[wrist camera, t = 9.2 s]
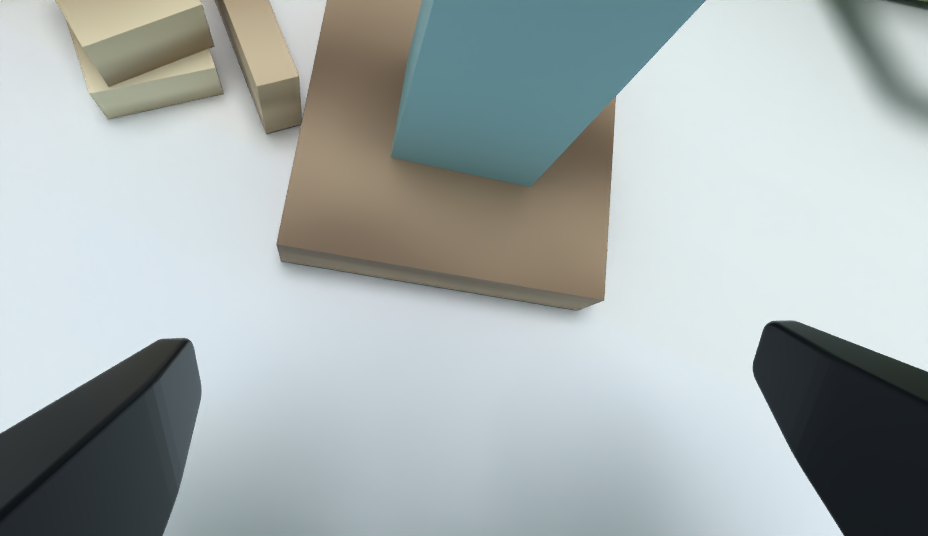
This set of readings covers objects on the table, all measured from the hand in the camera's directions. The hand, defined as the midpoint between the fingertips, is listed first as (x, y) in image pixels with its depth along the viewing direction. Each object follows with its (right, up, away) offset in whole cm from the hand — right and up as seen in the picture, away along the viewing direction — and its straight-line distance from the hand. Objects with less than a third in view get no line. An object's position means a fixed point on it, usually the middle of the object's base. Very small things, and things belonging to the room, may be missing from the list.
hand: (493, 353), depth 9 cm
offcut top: (-11, +9, +9) cm, 16 cm away
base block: (-1, +6, +12) cm, 13 cm away
